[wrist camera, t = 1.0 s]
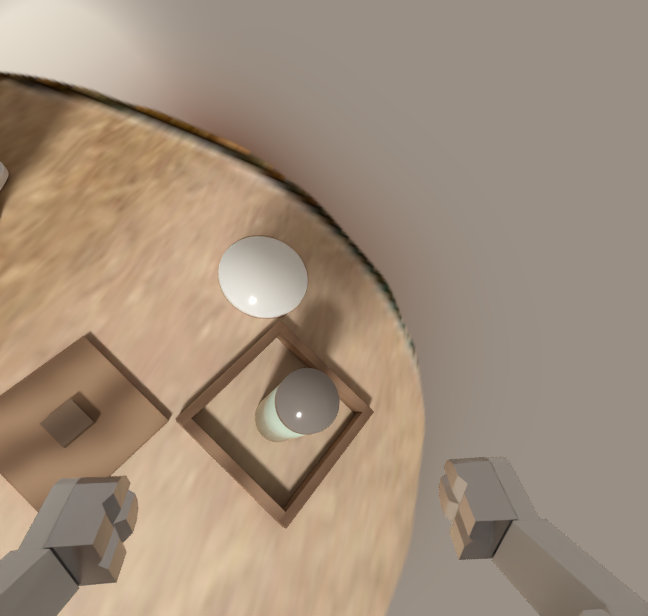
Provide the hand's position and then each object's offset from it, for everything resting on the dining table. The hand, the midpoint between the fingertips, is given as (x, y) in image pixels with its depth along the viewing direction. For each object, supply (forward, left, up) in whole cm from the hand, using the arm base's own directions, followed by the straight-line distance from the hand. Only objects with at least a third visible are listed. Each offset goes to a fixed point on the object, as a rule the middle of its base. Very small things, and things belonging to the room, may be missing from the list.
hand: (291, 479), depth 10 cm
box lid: (-13, -5, -33) cm, 36 cm away
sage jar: (+1, +9, -33) cm, 34 cm away
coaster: (-12, +20, -33) cm, 40 cm away
